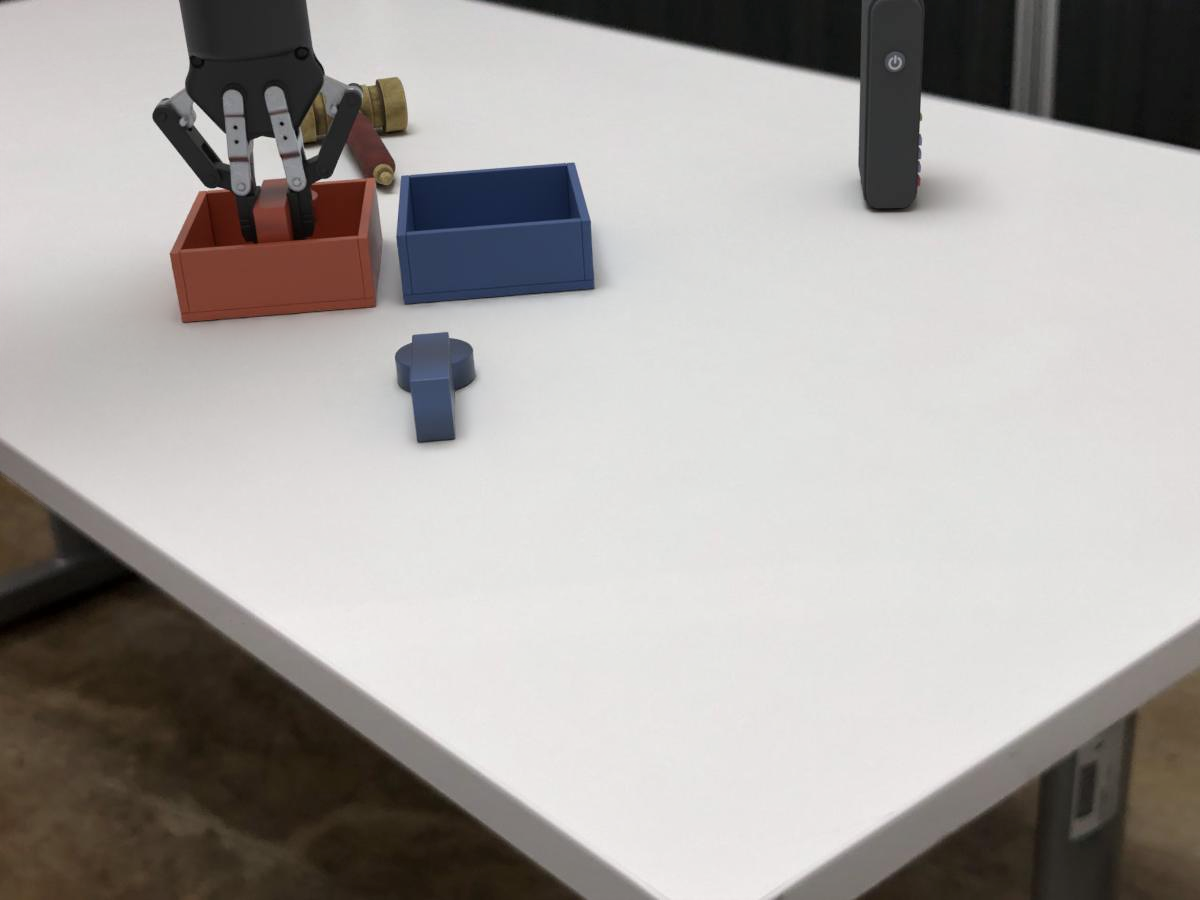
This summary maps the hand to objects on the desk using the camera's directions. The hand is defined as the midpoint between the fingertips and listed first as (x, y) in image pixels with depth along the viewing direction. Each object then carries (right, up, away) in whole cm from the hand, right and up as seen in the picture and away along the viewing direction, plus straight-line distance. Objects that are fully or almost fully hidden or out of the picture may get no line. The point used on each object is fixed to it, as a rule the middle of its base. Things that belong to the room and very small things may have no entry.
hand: (281, 243), depth 102 cm
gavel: (+1, +11, +29) cm, 30 cm away
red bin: (0, -2, +3) cm, 4 cm away
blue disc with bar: (+12, -11, -16) cm, 22 cm away
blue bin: (+14, -1, +4) cm, 14 cm away
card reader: (+42, +5, +13) cm, 44 cm away
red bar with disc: (0, +1, +2) cm, 2 cm away
